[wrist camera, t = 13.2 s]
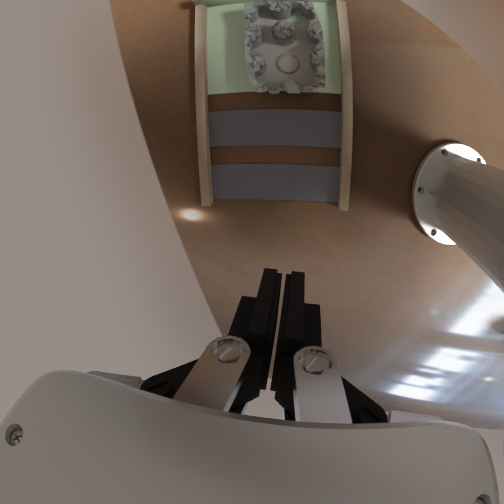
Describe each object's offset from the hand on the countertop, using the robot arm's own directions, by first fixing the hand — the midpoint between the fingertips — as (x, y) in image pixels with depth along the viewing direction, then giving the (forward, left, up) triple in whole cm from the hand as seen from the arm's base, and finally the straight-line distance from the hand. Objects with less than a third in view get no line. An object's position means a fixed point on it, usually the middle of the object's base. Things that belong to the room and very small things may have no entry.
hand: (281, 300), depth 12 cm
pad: (+2, -17, -20) cm, 26 cm away
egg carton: (0, -16, -20) cm, 26 cm away
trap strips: (+2, -4, -20) cm, 20 cm away
